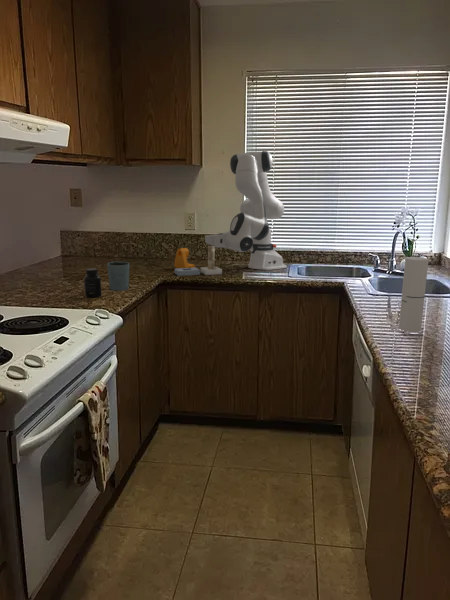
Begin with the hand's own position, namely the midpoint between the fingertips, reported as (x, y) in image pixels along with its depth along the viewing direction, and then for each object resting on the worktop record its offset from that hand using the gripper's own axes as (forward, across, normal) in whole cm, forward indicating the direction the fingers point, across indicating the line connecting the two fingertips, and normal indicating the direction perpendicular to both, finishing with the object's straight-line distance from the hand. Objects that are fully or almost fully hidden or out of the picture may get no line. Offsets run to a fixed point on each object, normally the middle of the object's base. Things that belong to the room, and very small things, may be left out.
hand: (218, 236), depth 255 cm
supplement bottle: (-18, +70, +19) cm, 74 cm away
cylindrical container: (-115, -15, +20) cm, 118 cm away
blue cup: (-8, +55, +19) cm, 59 cm away
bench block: (+13, +12, +21) cm, 28 cm away
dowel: (+10, 0, +21) cm, 23 cm away
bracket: (+28, +8, +22) cm, 36 cm away
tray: (+10, 0, +21) cm, 23 cm away
